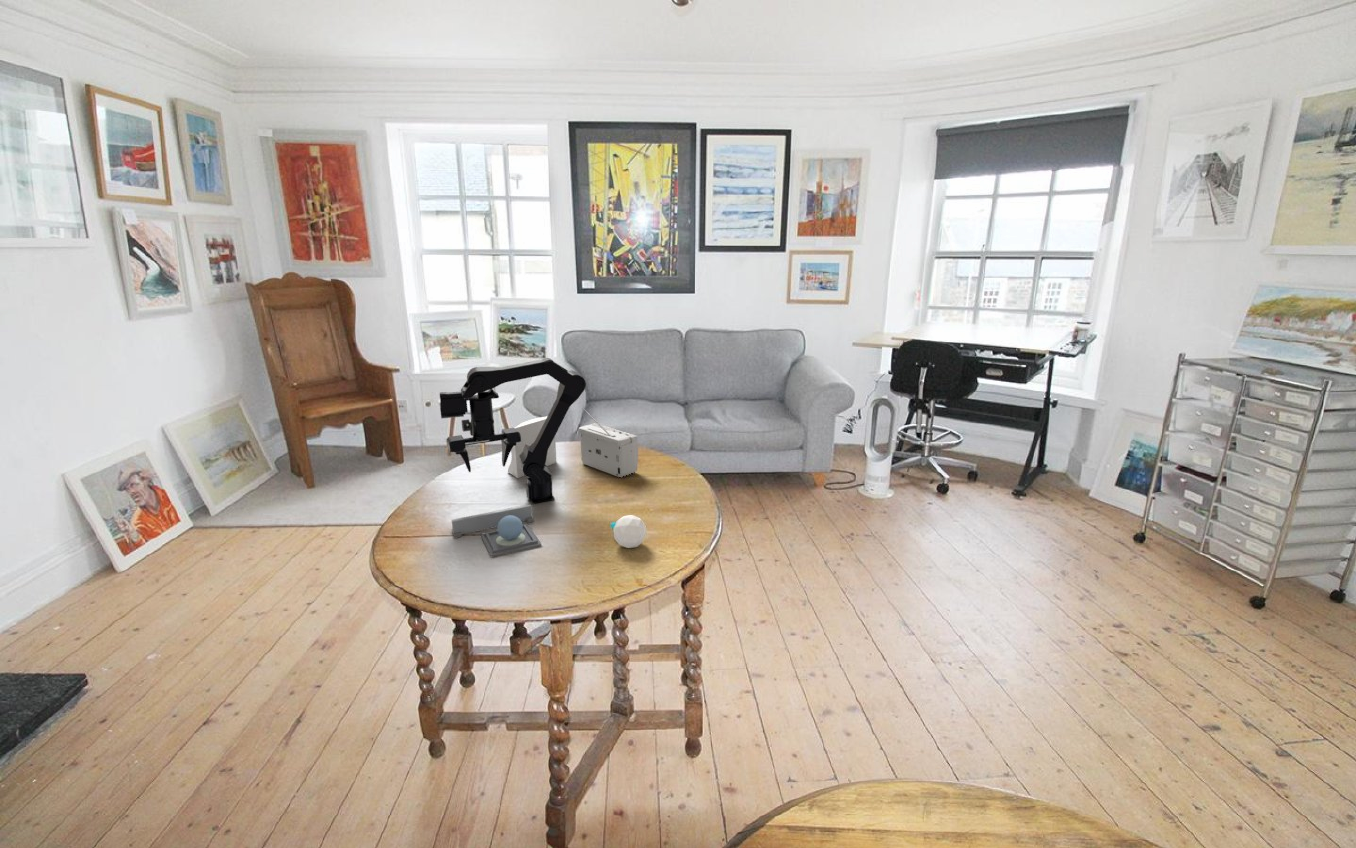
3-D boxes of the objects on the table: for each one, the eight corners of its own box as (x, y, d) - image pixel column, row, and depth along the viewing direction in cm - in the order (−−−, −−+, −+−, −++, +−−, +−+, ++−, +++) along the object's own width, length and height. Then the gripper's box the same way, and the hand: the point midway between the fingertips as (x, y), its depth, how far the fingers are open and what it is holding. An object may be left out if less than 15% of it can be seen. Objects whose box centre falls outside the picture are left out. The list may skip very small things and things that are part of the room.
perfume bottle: (621, 546, 138) (592, 534, 146) (645, 555, 143) (616, 543, 152) (634, 514, 139) (605, 504, 148) (658, 525, 145) (628, 515, 153)
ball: (519, 531, 151) (518, 509, 149) (525, 541, 146) (525, 519, 144) (495, 535, 148) (494, 513, 146) (501, 546, 143) (500, 523, 141)
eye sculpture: (534, 455, 206) (531, 410, 201) (558, 463, 199) (555, 416, 194) (493, 469, 193) (489, 421, 188) (517, 478, 186) (513, 428, 181)
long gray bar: (529, 515, 161) (528, 502, 159) (533, 521, 157) (532, 507, 156) (452, 531, 151) (450, 517, 150) (454, 538, 148) (453, 523, 147)
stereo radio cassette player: (639, 473, 191) (638, 414, 185) (620, 480, 185) (619, 419, 179) (596, 458, 204) (594, 402, 198) (577, 464, 198) (575, 407, 193)
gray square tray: (528, 526, 155) (528, 522, 154) (541, 546, 145) (541, 541, 144) (481, 536, 149) (480, 532, 149) (491, 557, 139) (491, 553, 139)
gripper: (509, 403, 170) (513, 454, 175) (440, 411, 161) (446, 465, 166) (519, 413, 161) (523, 466, 165) (447, 422, 152) (453, 478, 157)
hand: (486, 468), depth 163 cm, fingers open, 9 cm apart
